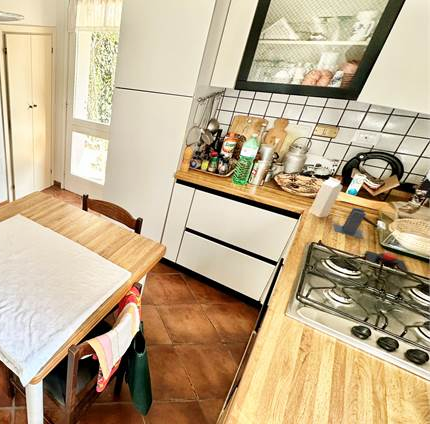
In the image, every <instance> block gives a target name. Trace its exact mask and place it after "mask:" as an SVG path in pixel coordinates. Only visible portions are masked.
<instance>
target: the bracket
mask: <svg viewBox="0 0 430 424" xmlns="http://www.w3.org/2000/svg"><path fill="white" fill-rule="evenodd" d="M356 210H358V211H360V212H358V211H356ZM366 215H367V213H366V210H365V209H361V208H357V207H352V209H351V210H350V212H349V215H348V216H347V218H346V219H345V221H344V223H343V225H342V224H341V225H340V224H336V223H333V231H334V232H335V233H339V234H342V235H346V236H351V237H354V238H358V239H362V240H363V239H364V234H363V231H362V230H360V229H359V227H360V225H361V223H362V222H363V221H364V219H363V218H364V217H366Z"/></svg>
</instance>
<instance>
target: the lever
mask: <svg viewBox="0 0 430 424" xmlns="http://www.w3.org/2000/svg"><path fill="white" fill-rule="evenodd" d="M356 211H358V210H356ZM358 212H360V211H358ZM363 221H365V222H367V223H368V224H370V225H371V226H373V227H375V228H376V231H378V232H380V231H382V228H381V225H380V223H377V224H376V223H374V222H373V221H372V220H370V219H369V218H367V217H366V216H365V217H364V218H363Z"/></svg>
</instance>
